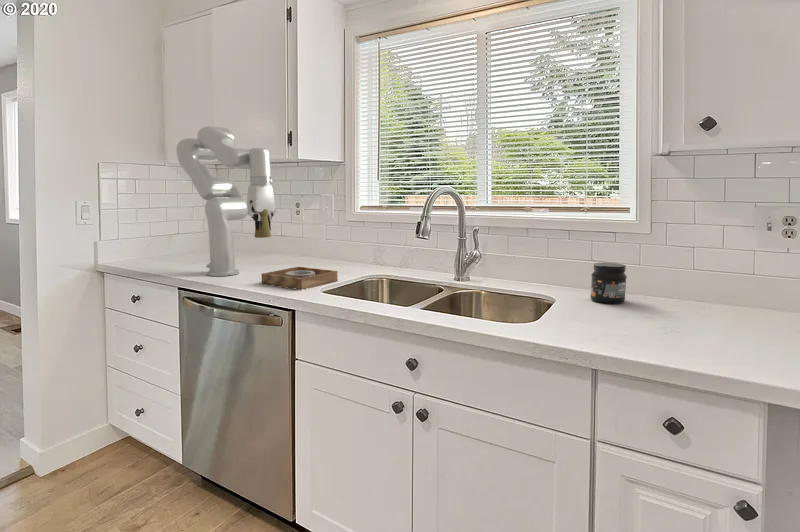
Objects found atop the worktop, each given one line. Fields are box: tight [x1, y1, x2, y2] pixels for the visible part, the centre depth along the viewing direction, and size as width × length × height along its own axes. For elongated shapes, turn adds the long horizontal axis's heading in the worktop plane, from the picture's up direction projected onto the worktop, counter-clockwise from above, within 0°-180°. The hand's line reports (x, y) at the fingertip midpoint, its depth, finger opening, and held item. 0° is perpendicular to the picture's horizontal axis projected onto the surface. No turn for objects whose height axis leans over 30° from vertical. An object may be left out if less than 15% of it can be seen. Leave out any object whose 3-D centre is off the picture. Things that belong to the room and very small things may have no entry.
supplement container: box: [590, 262, 628, 305], centre depth 167 cm, size 10×10×12 cm
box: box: [261, 266, 338, 290], centre depth 198 cm, size 20×20×4 cm
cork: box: [254, 209, 272, 239], centre depth 196 cm, size 6×6×11 cm
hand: (263, 230), depth 196 cm, fingers closed on cork, 3 cm apart
